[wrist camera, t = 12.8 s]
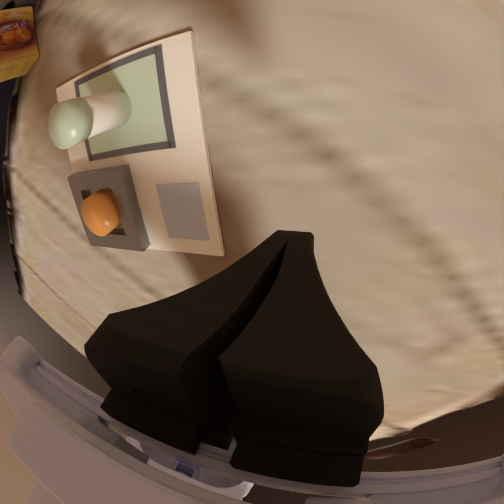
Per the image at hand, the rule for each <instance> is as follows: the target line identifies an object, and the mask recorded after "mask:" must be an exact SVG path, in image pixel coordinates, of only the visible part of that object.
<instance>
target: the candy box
mask: <svg viewBox="0 0 504 504" xmlns="http://www.w3.org/2000/svg"><path fill="white" fill-rule="evenodd" d="M38 58H39V51H38V45H37V40H36V33H35V26H34V17H33V9H32V6H29V7H21V8H14V9H7V10H1V11H0V82H2V81H5V80H9V79H12V78H15V77H19V76H23V75H26V74H27V72H28V71H29V70H30V68H31V67H32V66H33V65H34V63H35V62H36V61H37V60H38Z"/></svg>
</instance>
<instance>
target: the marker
mask: <svg viewBox="0 0 504 504" xmlns="http://www.w3.org/2000/svg"><path fill="white" fill-rule="evenodd" d="M131 110H132V106H131V101H130V98H129V96H128V95H127V94H126V93H125V92H124V91H122V90H114V91H109V92H104V93H99V94H94V95H90V96H85V97H76V98H72V99H68V100H65V101H61V102H58V103H56V104H54V105H53V106H52V108H51V110H50V112H49V115H48V132H49V135H50V138H51V140H52V142H53V144H54V145H55V146H56V147H57V148H59V149H62V150H64V149H67V148H69V147H71V146H74V145H76V144H78V143H81V142H83V141H85V140H86V139H88V138H90V137H92V136H95V135H98V134H100V133H103V132H106V131H108V130H111V129H114V128H117V127H120V126H123V125H124V124H126V122H127V121H128V120H129V118H130V115H131Z"/></svg>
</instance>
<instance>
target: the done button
mask: <svg viewBox="0 0 504 504" xmlns="http://www.w3.org/2000/svg"><path fill="white" fill-rule="evenodd" d="M81 214H82V218H83V220H84V222H85V224H86V226H87V227H88V228H89V229H90V231H92V232H93V233H94V234H96V235H98V236H106V235H107V234H108V233H109V232H111V231H112V230H113V229H114V228H116V227H117V226H118V225H119V224H120V223H121V222H122V221H121V218H120V214H119V211H118V208H117V204H116V201H115V197H114V194H113V193H112V192H110V191H109V190H106V189H101V190H99V191H97V192H96V193H94V194H92V195H91V196H89V197H88V198H86V199H85V200H83V202H82V204H81Z"/></svg>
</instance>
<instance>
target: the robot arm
mask: <svg viewBox="0 0 504 504" xmlns="http://www.w3.org/2000/svg"><path fill="white" fill-rule="evenodd" d="M84 348H85V354H86V356H87V358H88V360H89V361H90V363H91V364H92V366H93V367H94V368H95V369H96V370H97V372H98V373H99V374H100V375H101V376H102V378H103V379H104V380H105V381H106V382H107V384H108V385H109V386H110V387H111V388H112V389H111V390H110V392H109V393H108V395H107V397H106V398H105V399H103V398H101V397H100V396H98V395H96V394H94V393H93V392H91V391H89V390H87V389H86V388H84V387H83V386H81V385H80V384H78V383H76V382H75V381H73V380H72V379H70V378H69V377H67V376H66V375H64V374H63V373H61V372H60V371H58V370H57V369H55V368H54V367H53V366H51V365H50V364H48V363H47V362H46V361H44V360H43V359H41V357H40V355H39V354H38V353H37V352H36V350H35V349H34V348H33V347H32V346H31V345H30V344H29V343H28V342H27V341H26V340H24V339H23V338H22V337H21V336H17V337H16V338H15V339H14V340H13V342H12V343H11V344H10V345H9V346H8V348H7V349H6V350H5V351H4V353H3V354H2V355H1V356H0V391H1V392H2V394H3V395H4V397H5V399H6V400H7V402H8V404H9V405H10V407H11V408H12V410H13V412H14V413H15V415H16V416H17V418H18V419H19V421H18V422H17V424H16V425H15V427H14V428H13V430H12V432H11V433H10V435H9V436H8V438H7V441H8V444H9V447H10V448H11V450H12V452H13V453H14V455H15V456H16V457H17V459H18V460H19V461H20V462H21V463H22V464H23V466H25V468H26V469H27V470H28V471H29V472H30V473H31V474H32V475H33V476H34V478H35V479H36V480H35V482H34V483H33V485H32V487H31V489H30V490H29V492H28V494H27V496H26V498H25V500H24V502H23V503H22V504H252V503H248V502H244V501H241V500H242V498H243V497H244V496H246V495H247V494H248V492H249V490H250V489H251V488H252V486H253V484H258V485H262V486H267V487H272V488H277V489H282V490H288V491H294V492H300V493H308V494H316V495H326V496H339V497H360V498H315V497H314V498H313V497H310V498H309V499H307V500H306V504H504V455H503V456H500V457H497V458H492V459H488V460H484V461H480V462H476V463H471V464H465V465H460V466H454V467H448V468H440V469H431V470H421V471H407V472H361V471H362V465H363V459H364V455H366V453H367V450H368V443H369V438H370V436H371V435H372V434H373V433H374V431H375V430H376V429H377V428H378V426H379V425H380V424H381V422H382V419H383V417H384V400H383V392H382V387H381V382H380V378H379V374H378V370H377V367H376V365H375V364H374V363H373V362H372V361H371V359H370V358H369V357H368V356H367V355H366V353H365V352H364V351H363V350H362V348H361V347H360V346H359V345H358V343H357V342H356V340H355V339H354V338H353V336H352V335H351V334H350V332H349V331H348V329H347V327H346V326H345V324H344V323H343V321H342V319H341V318H340V316H339V315H338V313H337V311H336V309H335V308H334V306H333V304H332V302H331V300H330V298H329V296H328V294H327V291H326V289H325V287H324V284H323V282H322V279H321V276H320V274H319V270H318V267H317V264H316V260H315V256H314V235H313V234H312V233H311V232H298V231H284V230H277V231H276V232H275V233H273V234H272V235H271V236H270V237H268V238H267V239H266V240H265V241H263V242H262V243H261V244H260V245H258V246H257V247H256V248H255V249H253V250H252V251H251V252H249V253H248V254H247V255H245V256H244V257H242V258H241V259H240V260H238V261H237V262H235V263H234V264H232V265H231V266H229V267H228V268H226V269H225V270H223V271H222V272H220V273H218V274H217V275H215V276H213V277H211V278H209V279H208V280H206V281H204V282H202V283H200V284H198V285H196V286H193V287H191V288H189V289H187V290H184V291H182V292H180V293H178V294H175V295H173V296H170V297H168V298H165V299H162V300H159V301H156V302H153V303H150V304H147V305H144V306H140V307H137V308H133V309H129V310H125V311H121V312H116V313H112V314H109V315H108V316H107V318H106V319H105V320H104V321H103V322H102V324H101V325H100V326H99V327H98V328H97V330H96V331H95V332H94V333H93V335H92V336H91V337H90V338H89V340H88V341H87V342H86V344H85V345H84ZM107 424H108V425H110V426H111V427H113V428H115V429H117V430H118V431H120V432H122V433H124V434H126V435H127V438H126V440H125V439H124V438H122V437H121V436H120V435H119V434H117V433H116V432H114V431H112V430H111V429H110V428H108V425H107Z"/></svg>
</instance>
